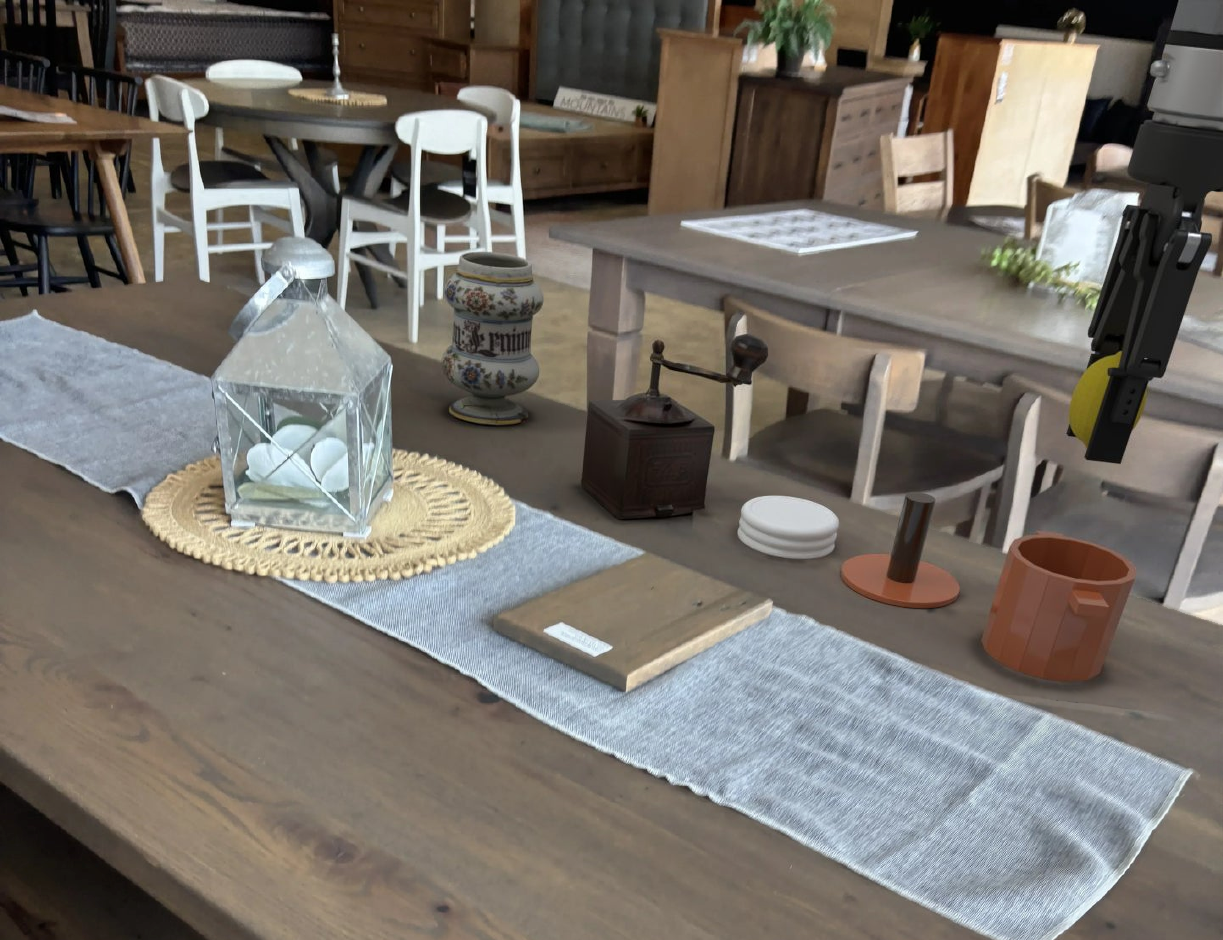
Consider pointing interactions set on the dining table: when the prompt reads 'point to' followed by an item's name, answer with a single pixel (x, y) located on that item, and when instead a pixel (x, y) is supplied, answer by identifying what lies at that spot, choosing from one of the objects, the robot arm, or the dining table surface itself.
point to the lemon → (1093, 397)
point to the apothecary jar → (491, 336)
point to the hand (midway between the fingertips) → (1092, 447)
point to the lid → (904, 564)
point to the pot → (1057, 606)
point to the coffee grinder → (657, 442)
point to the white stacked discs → (788, 527)
